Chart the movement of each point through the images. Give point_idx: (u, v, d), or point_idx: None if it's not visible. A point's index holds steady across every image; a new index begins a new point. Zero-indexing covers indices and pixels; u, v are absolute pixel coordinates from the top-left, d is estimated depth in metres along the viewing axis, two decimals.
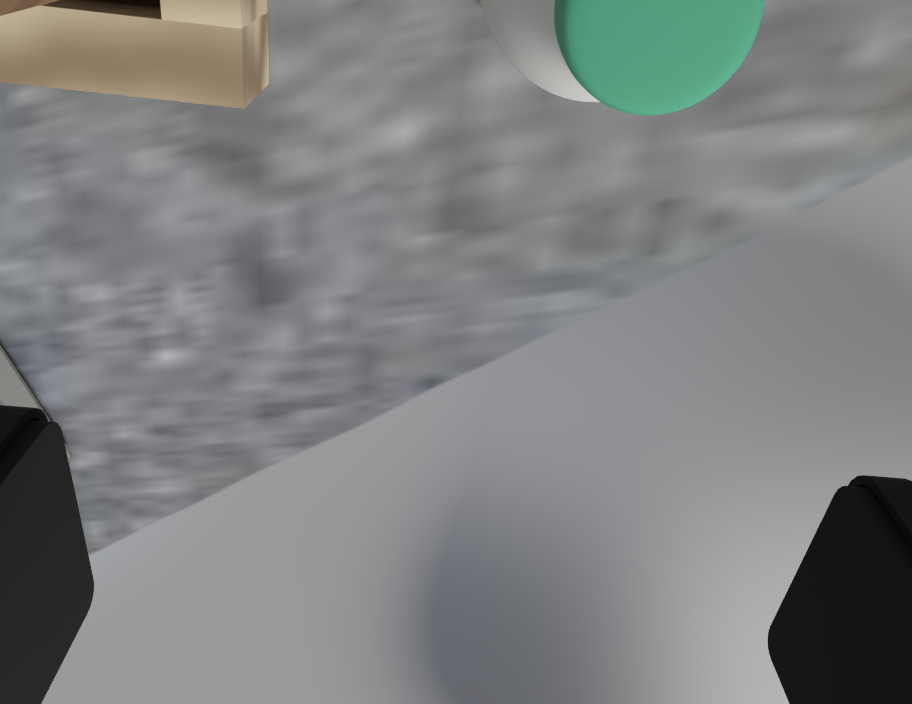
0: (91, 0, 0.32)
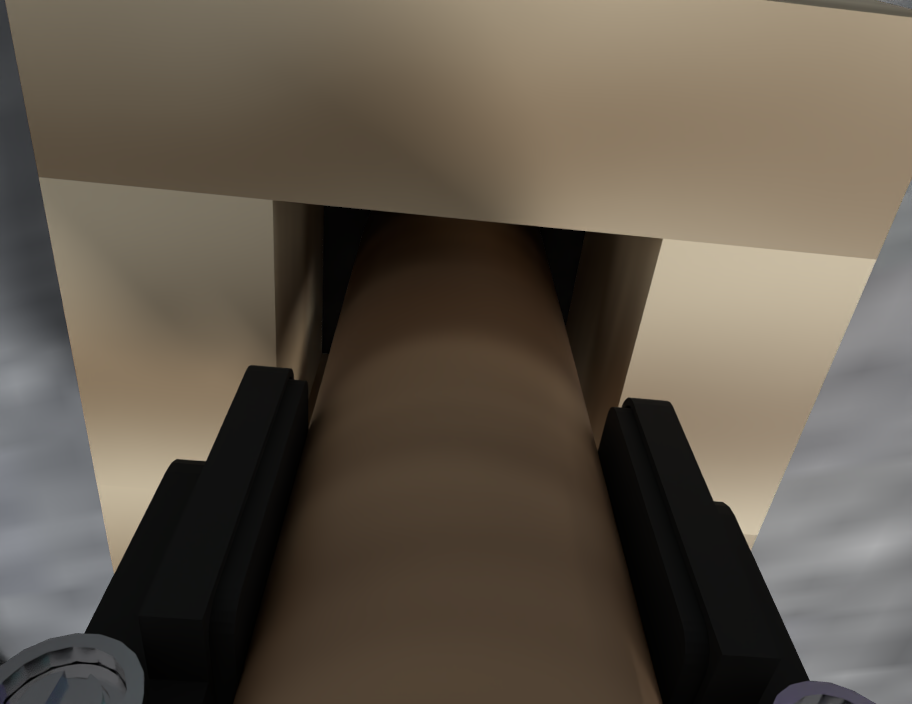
0: None
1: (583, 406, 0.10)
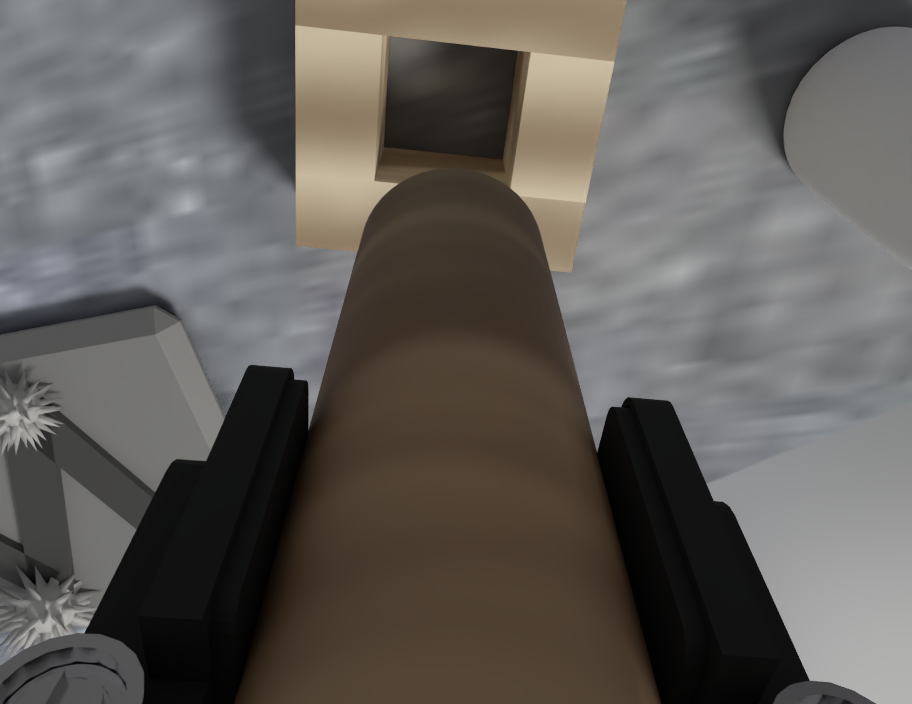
0: (418, 165, 0.33)
1: (583, 408, 0.10)
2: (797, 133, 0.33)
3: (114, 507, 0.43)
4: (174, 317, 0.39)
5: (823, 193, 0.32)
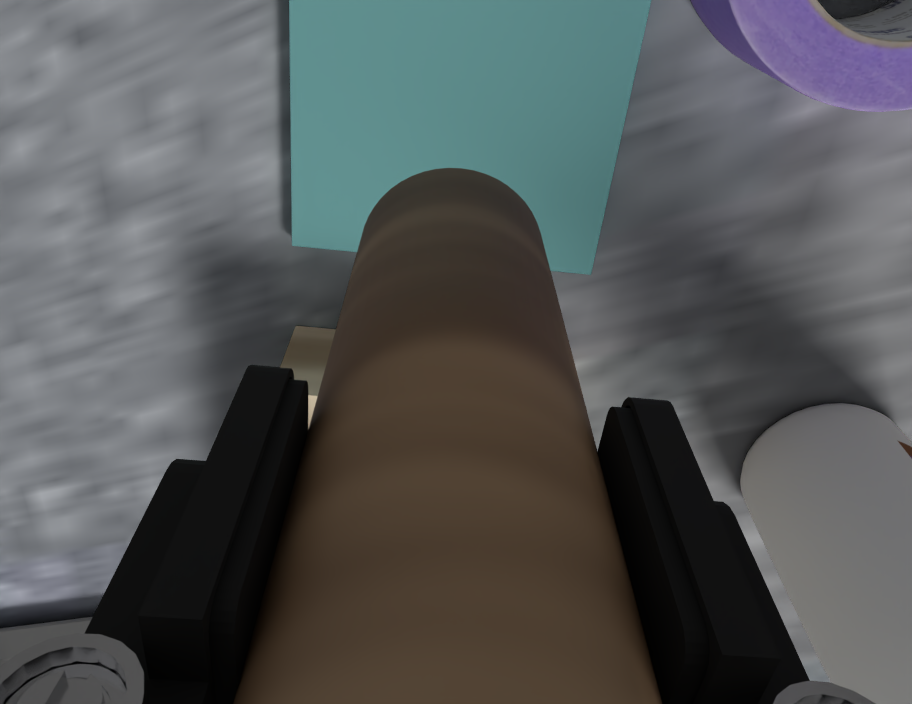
0: None
1: (583, 409, 0.10)
2: (751, 497, 0.34)
3: None
4: None
5: None
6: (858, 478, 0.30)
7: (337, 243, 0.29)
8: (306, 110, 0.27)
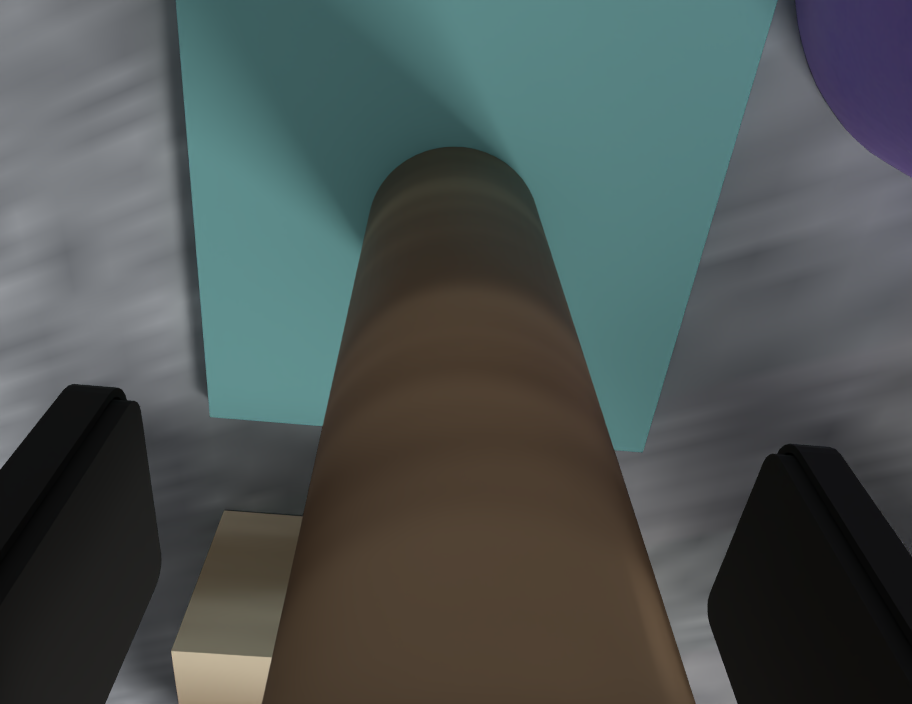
0: None
1: (581, 350, 0.11)
2: None
3: None
4: None
5: None
6: None
7: (275, 414, 0.20)
8: (219, 236, 0.18)
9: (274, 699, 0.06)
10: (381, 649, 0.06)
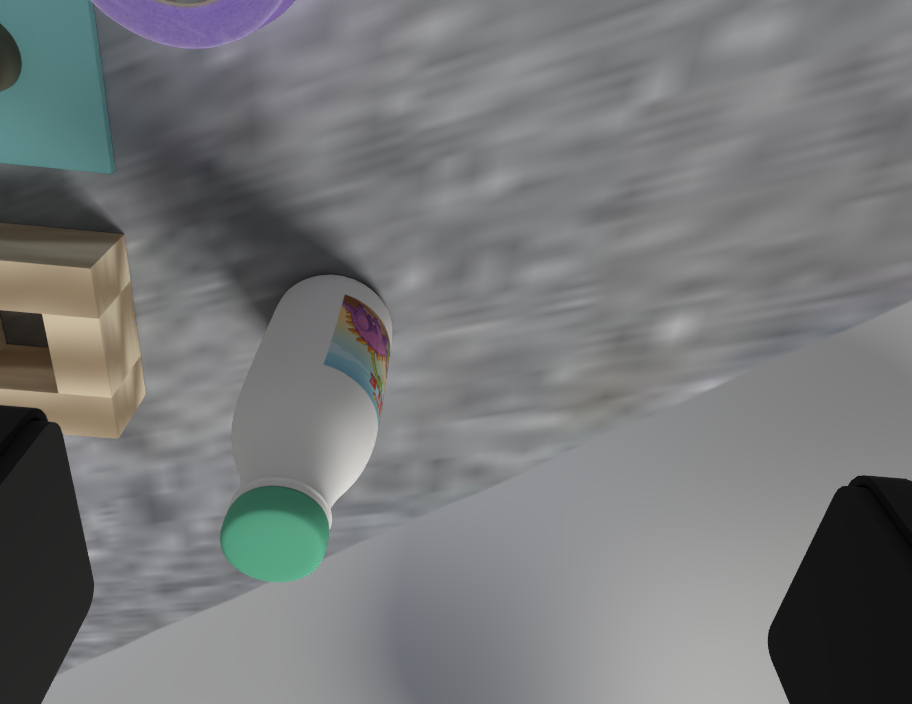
0: (15, 364, 0.48)
1: None
2: None
3: None
4: None
5: None
6: (292, 313, 0.43)
7: None
8: None
9: None
10: None
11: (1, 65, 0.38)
